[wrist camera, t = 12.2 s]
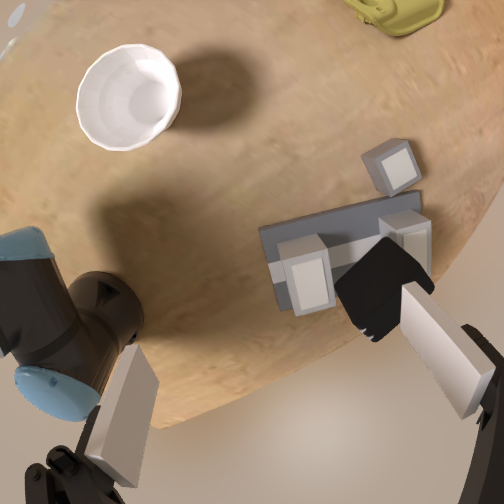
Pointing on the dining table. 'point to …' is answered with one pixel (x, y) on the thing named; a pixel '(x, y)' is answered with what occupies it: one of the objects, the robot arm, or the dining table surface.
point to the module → (392, 166)
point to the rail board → (339, 246)
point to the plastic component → (397, 14)
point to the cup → (128, 97)
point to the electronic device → (379, 287)
